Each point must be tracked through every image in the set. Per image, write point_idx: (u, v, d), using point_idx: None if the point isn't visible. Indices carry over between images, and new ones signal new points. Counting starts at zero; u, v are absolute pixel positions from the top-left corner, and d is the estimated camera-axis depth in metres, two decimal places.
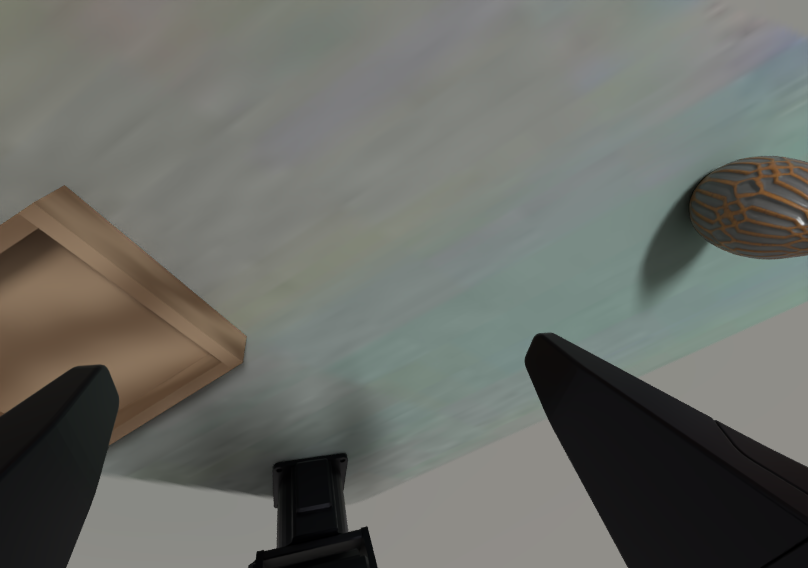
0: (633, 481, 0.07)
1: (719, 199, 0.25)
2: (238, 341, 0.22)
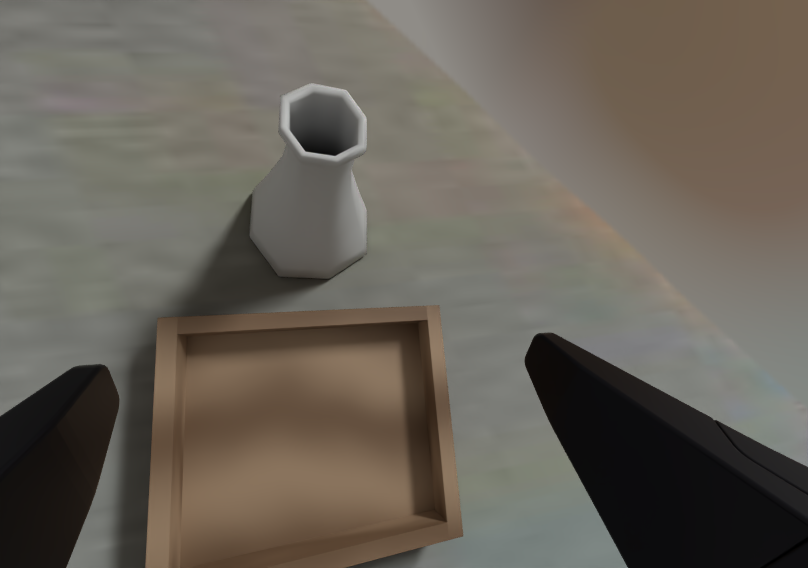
0: (633, 481, 0.07)
1: None
2: None
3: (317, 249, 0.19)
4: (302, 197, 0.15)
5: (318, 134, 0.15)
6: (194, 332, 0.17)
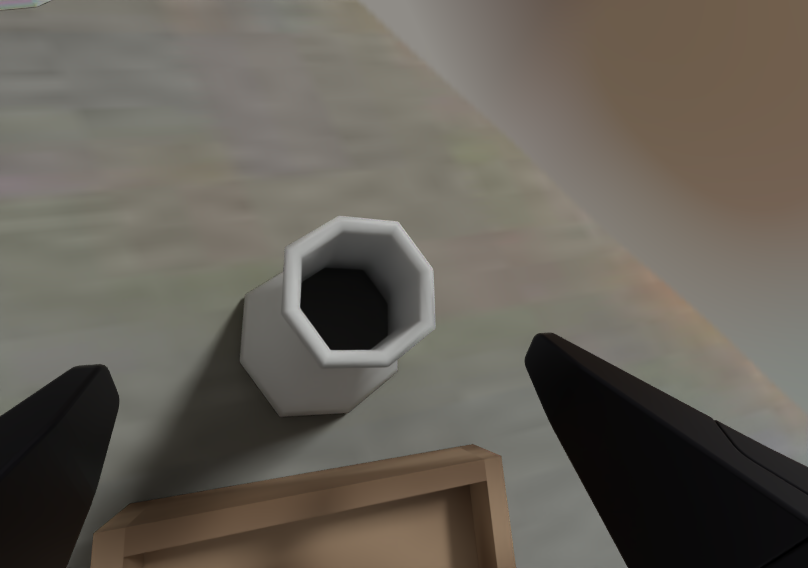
0: (633, 481, 0.07)
1: None
2: None
3: (334, 395, 0.13)
4: None
5: (343, 263, 0.10)
6: (151, 549, 0.11)
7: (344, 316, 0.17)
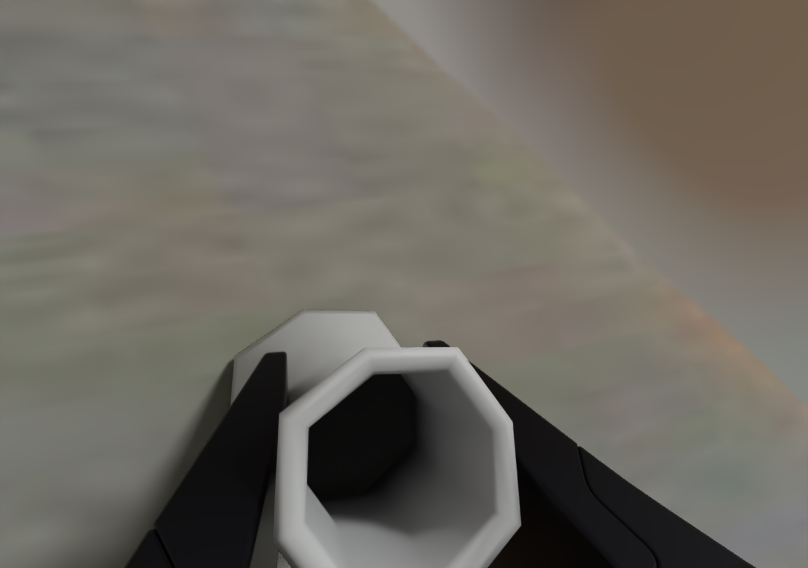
0: None
1: None
2: None
3: None
4: (327, 507, 0.07)
5: None
6: None
7: None
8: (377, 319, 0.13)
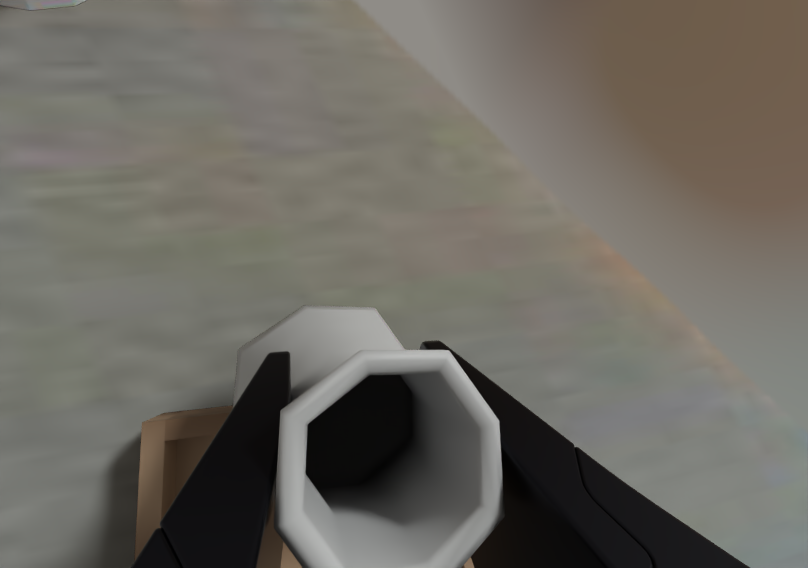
0: None
1: None
2: None
3: None
4: (326, 496, 0.07)
5: None
6: (185, 437, 0.14)
7: None
8: (377, 316, 0.13)
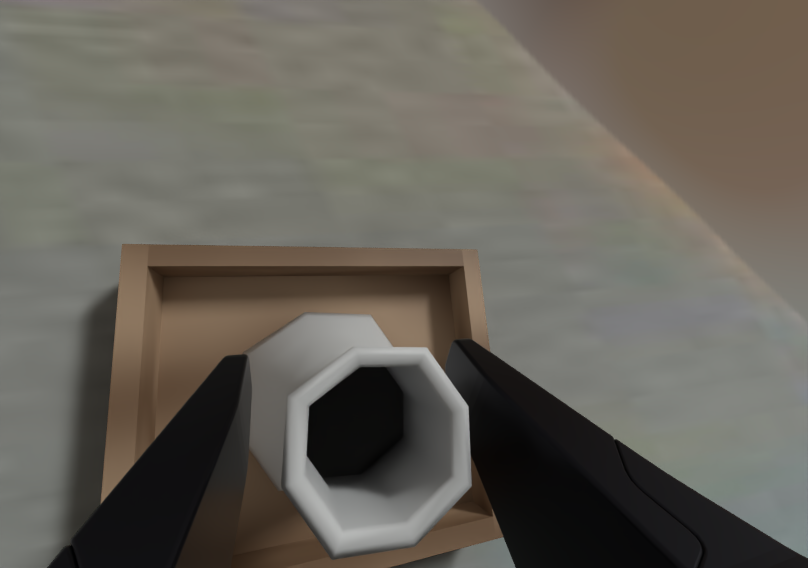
0: (530, 506, 0.06)
1: None
2: None
3: None
4: (323, 480, 0.08)
5: None
6: (170, 265, 0.13)
7: (350, 373, 0.15)
8: (372, 322, 0.14)
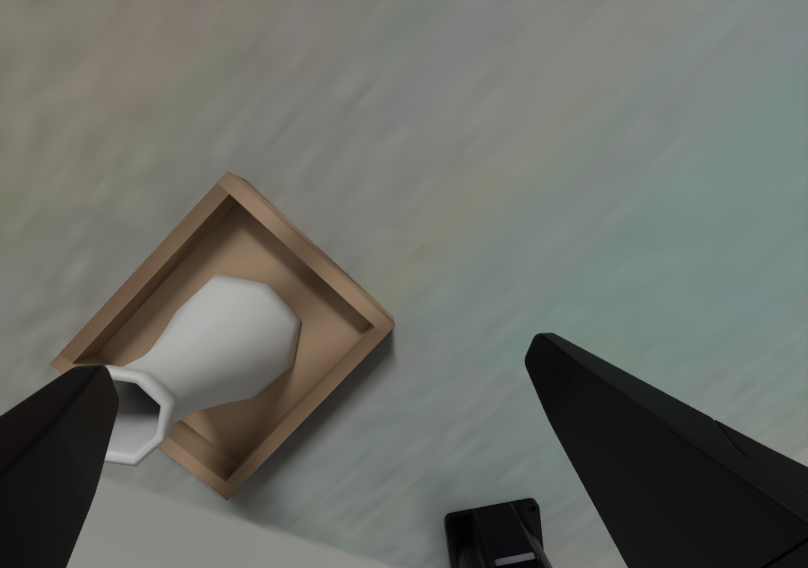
0: (633, 481, 0.07)
1: None
2: (386, 313, 0.21)
3: (255, 381, 0.18)
4: (189, 412, 0.15)
5: None
6: (81, 353, 0.19)
7: None
8: (206, 287, 0.19)
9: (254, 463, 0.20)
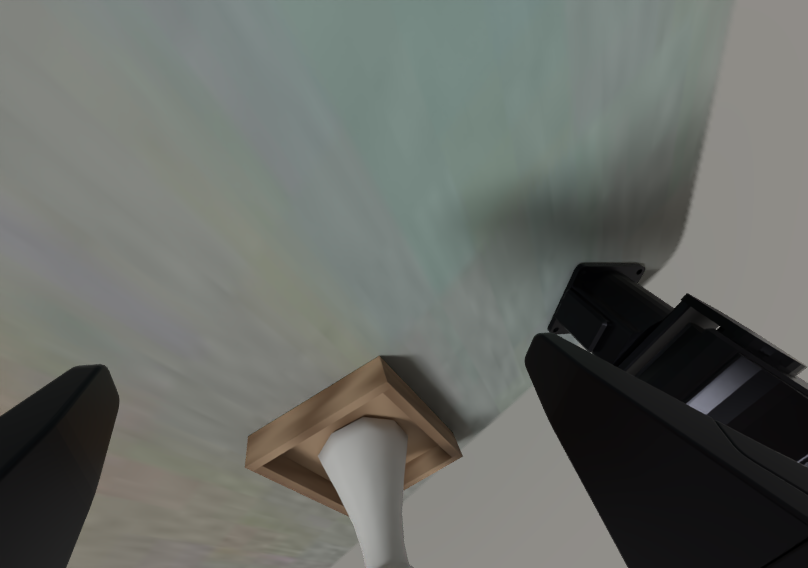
0: (633, 481, 0.07)
1: None
2: (375, 370, 0.25)
3: (396, 460, 0.27)
4: (401, 521, 0.25)
5: None
6: None
7: None
8: (326, 472, 0.28)
9: (448, 447, 0.31)
